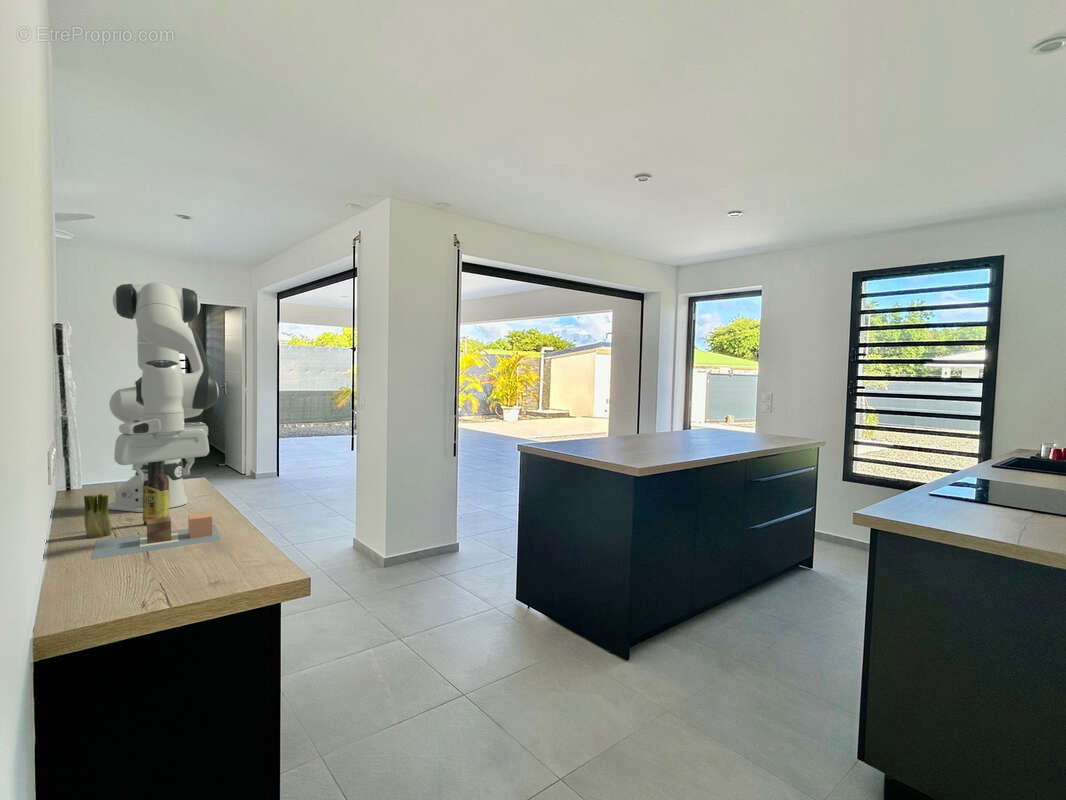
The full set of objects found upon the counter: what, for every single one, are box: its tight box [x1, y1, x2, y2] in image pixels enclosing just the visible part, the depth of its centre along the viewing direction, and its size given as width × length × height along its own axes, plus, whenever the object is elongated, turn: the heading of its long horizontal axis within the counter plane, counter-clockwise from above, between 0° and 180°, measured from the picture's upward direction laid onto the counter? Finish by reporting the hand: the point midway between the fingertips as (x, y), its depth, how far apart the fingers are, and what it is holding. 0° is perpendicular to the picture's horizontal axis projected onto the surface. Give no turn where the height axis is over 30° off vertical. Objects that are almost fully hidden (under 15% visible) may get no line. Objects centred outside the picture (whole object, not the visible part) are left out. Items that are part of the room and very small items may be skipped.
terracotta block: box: [188, 512, 213, 539], centre depth 143 cm, size 5×5×5 cm
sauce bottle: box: [142, 461, 170, 526], centre depth 154 cm, size 7×6×20 cm
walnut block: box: [146, 516, 172, 544], centre depth 138 cm, size 5×5×5 cm
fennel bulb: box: [83, 493, 112, 539], centre depth 141 cm, size 6×5×12 cm
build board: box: [90, 524, 222, 560], centre depth 138 cm, size 26×16×1 cm, turn 125°
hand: (165, 477), depth 138 cm, fingers open, 8 cm apart
